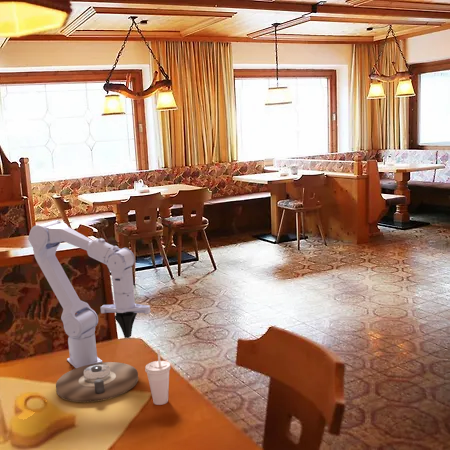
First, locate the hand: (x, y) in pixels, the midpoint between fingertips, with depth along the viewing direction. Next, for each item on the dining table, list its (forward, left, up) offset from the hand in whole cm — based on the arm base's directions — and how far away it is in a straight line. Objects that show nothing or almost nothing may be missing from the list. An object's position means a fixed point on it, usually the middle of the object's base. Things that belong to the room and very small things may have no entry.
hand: (128, 336), depth 171 cm
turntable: (+5, -12, -9) cm, 16 cm away
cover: (+5, -12, -7) cm, 15 cm away
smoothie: (+25, -3, -10) cm, 27 cm away
